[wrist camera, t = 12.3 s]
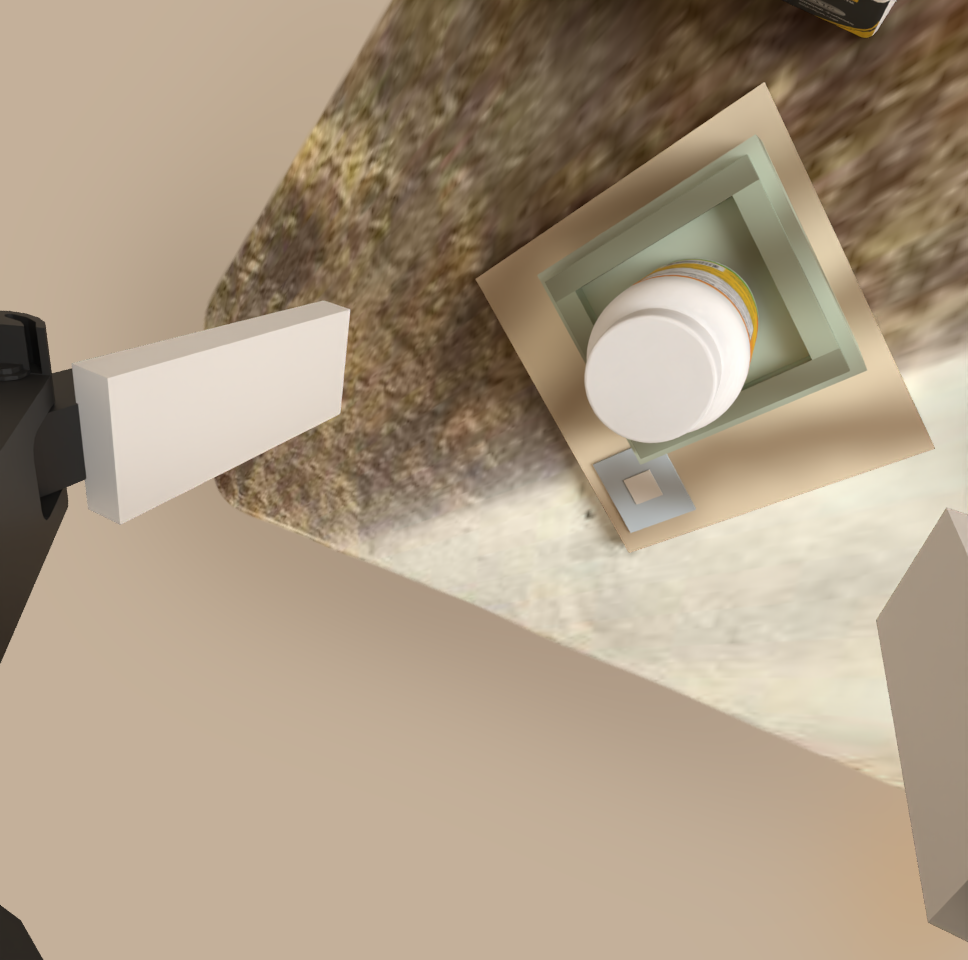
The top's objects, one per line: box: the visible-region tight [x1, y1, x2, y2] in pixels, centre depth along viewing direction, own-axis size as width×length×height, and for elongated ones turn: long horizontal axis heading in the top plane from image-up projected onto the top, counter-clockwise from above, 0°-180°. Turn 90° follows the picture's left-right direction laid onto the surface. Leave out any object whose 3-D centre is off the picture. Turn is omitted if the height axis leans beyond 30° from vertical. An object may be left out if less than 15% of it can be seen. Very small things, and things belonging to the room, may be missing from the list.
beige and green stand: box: [476, 82, 935, 553], centre depth 32 cm, size 18×16×7 cm
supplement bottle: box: [584, 258, 758, 443], centre depth 24 cm, size 5×5×10 cm
